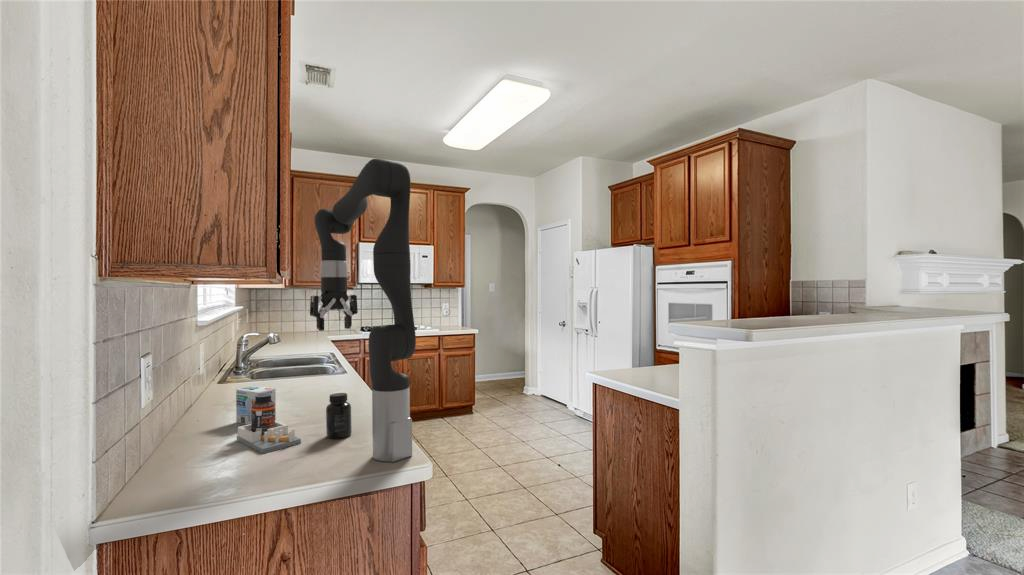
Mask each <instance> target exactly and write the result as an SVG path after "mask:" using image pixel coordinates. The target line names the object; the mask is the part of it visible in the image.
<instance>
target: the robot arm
mask: <svg viewBox="0 0 1024 575" xmlns="http://www.w3.org/2000/svg"><path fill="white" fill-rule="evenodd" d="M410 173H411V172H410V170H409V167H408V166H407V165H406V164H404V163H402V162H401V163H400V162H397V161H392V160H386V159H381V158H371V159H370V160H369V161H368V162H367V163H366V164H364V166H363V167H362V169H361V170H360V172H359V174H358V175H357V177H356V178H355V180H354V182H353V183H352V185H351V187H350V188H349V189H348V191H347V192H346V194H344V195H343V196H341V198H340V199H339V200H338V201H337V202H336V203H334V205H333V206H332V209H327V208H321V209H319V210H318V211H317V212H316V214H315V215H314V226H315V230H316V232H317V236H318V240H319V243H320V249H321V253H320V254H321V255H320V256H321V257H320V258H321V262H320V263H321V264H320V292H321V295H320V296H319V295H311V296H310V303H309V315H310V316H311V317H314V318H316V329H317V330H318V331H319V332H324V331H325V318H324V317H325V316H326V314H327V313H328V312H329V311H332V310H333V311H334V310H339V311H341V312H342V313H343V314H344V321H343V322H344V324H343V325H344V326H343V327H344V329H347V330H349V329H351V327H352V320H353V318H352V317H353V316H354V315H356V314H358V312H359V311H358V298H357V297H358V296H357V295H356V294H348V293H347V292H348V265H347V264H348V263H347V246H346V243H345V242H342V241H339V240H337V239H334V238H333V236H332V234H337V235H345V234H348V233H349V232H350V231H351V230H352V228H353V225H354V223H355V221H357V220H358V219H359V218H360V217H361V216H363V214H364V213H365V211H367V208H368V198H367V197H370V196H371V195H373V196H376V197H384V198H389V200H390V207H389V208H390V209H389V210H390V211H389V216H388V218H387V221H386V224H385V226H384V227H383V228H382V230H381V231H380V233H379V235H378V237H377V238H376V240H375V242H374V245H373V248H372V249H373V251H372V259H373V260H372V261H373V275H374V277H375V279H376V281H377V282H378V285H379V286H380V288H381V289H382V291H383V292H384V294H385V296H386V297H387V298H388V301H389V302H390V305H391V307H392V311H393V319H394V322H393V323H394V324H385V325H376V326H374V327H373V328H372V329H371V330H370V332H369V335H368V358H369V359H368V360H369V376H370V380H371V391H372V392H371V397H372V398H371V401H372V402H371V405H372V406H371V412H372V413H371V414H372V422H371V424H372V429H371V430H372V458H373V459H374V460H375V461H378V462H391V463H395V462H397V461H401V460H403V459H406V458H408V457H412V456H413V419H412V417H411V409H410V405H411V404H410V403H411V401H410V396H411V395H410V377H409V375H407V374H405V373H401V372H398V371H395V370H394V369H393V366H392V362H395V361H401V360H408V359H410V358H412V356H414V354H415V350H416V344H417V342H416V339H417V337H416V336H417V335H416V328H415V320H414V319H415V318H414V312H413V301H412V300H413V299H412V286H411V285H412V284H411V248H410V204H411V181H412V180H411V174H410ZM320 302H321V303H322V304H321V306H320V307H319V304H320ZM347 302H349V304H347Z"/></svg>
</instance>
